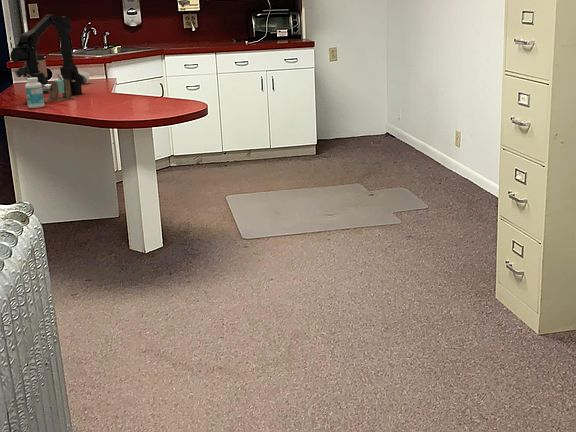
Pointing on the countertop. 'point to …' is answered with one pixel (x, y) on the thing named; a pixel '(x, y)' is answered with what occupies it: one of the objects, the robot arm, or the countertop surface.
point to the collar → (60, 86)
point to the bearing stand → (54, 92)
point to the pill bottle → (34, 93)
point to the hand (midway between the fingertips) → (35, 92)
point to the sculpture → (82, 73)
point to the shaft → (47, 87)
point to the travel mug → (43, 70)
